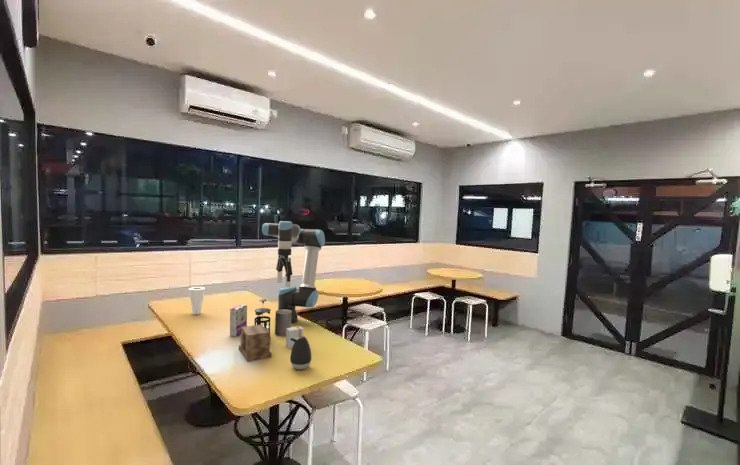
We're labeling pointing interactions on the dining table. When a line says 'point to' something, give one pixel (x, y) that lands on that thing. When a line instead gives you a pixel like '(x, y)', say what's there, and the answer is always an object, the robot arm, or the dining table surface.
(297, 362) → the pump dispenser
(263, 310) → the french press
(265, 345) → the wooden slotted holder
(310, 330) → the dining table surface
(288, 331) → the white carton
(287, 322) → the pillar candle
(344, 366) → the dining table surface
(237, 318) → the candy bar box
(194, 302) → the cup
